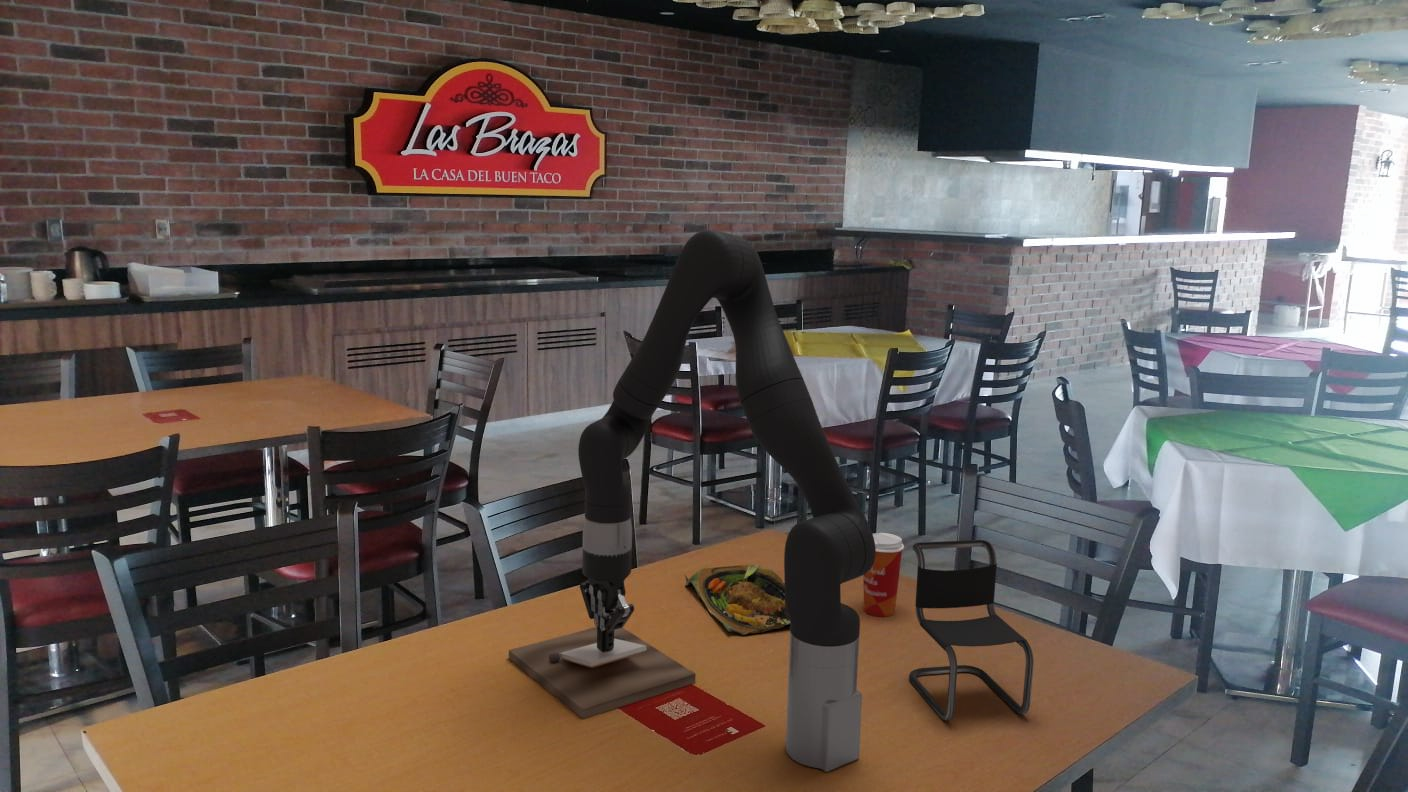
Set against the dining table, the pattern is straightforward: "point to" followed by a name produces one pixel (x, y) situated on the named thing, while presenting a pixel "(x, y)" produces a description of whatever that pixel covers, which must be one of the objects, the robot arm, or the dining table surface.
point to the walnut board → (600, 673)
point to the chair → (964, 622)
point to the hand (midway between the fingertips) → (605, 649)
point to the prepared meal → (742, 597)
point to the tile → (602, 653)
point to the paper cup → (883, 576)
